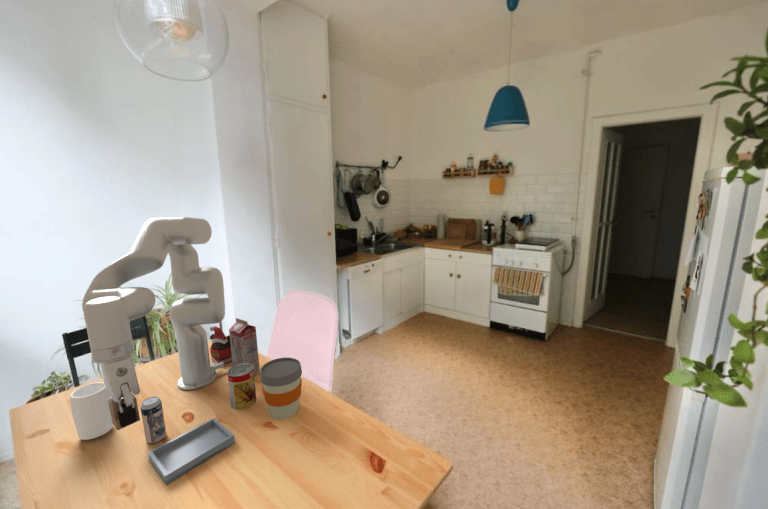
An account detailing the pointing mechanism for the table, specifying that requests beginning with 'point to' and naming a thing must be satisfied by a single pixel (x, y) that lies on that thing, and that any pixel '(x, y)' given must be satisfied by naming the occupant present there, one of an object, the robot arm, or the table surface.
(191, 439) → the tray
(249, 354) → the juice carton
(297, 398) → the reusable coffee cup
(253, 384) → the canned food
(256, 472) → the table surface
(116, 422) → the block
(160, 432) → the beer can
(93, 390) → the cup
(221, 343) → the christmas cupcake figurine
